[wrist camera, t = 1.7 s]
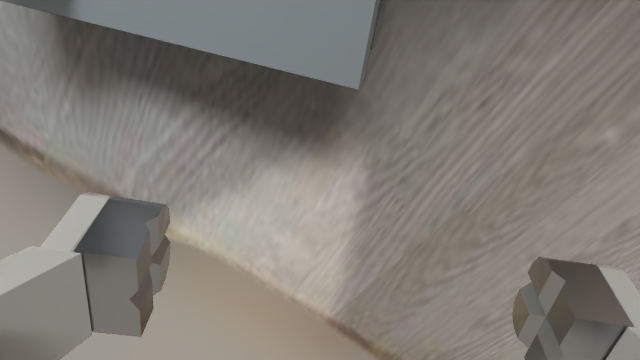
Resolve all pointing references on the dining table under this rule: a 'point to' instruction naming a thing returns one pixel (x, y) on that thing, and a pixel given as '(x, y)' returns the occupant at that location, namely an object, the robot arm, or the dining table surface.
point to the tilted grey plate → (246, 30)
